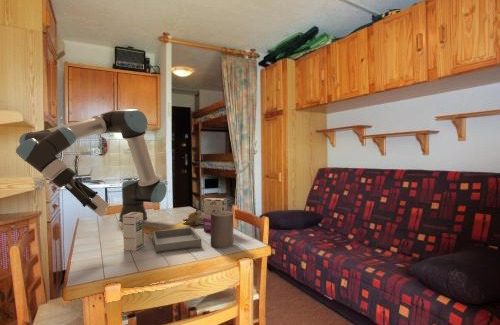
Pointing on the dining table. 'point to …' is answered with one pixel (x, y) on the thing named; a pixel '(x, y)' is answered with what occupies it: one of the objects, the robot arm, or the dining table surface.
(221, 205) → the candy bar box
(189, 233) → the tray
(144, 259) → the dining table surface
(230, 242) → the pillar candle
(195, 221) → the ceramic sculpture
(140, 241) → the syrup box
